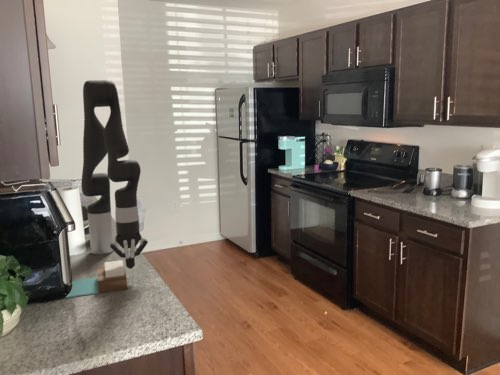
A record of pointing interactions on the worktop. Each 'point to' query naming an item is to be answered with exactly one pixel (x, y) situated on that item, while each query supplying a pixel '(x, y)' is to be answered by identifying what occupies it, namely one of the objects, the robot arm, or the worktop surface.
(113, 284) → the board
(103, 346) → the worktop surface
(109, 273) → the tile
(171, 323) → the worktop surface
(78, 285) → the mat
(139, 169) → the robot arm
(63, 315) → the worktop surface
